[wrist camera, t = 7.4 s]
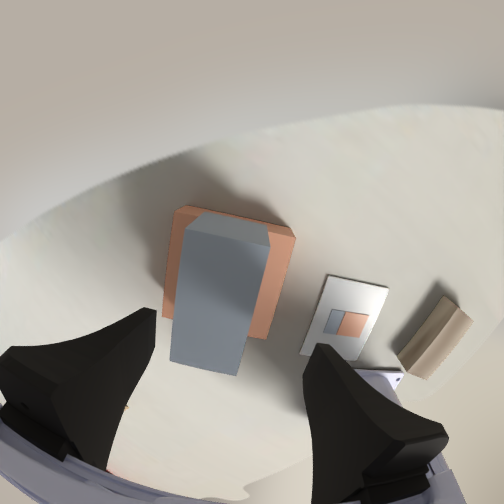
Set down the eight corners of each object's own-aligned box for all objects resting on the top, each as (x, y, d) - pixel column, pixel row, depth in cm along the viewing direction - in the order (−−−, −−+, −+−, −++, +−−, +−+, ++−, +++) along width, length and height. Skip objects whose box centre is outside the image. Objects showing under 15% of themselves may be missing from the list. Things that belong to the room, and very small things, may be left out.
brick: (458, 308, 23) (473, 321, 20) (415, 364, 25) (426, 380, 22) (442, 294, 22) (458, 307, 19) (395, 354, 24) (406, 372, 22)
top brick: (240, 330, 20) (236, 376, 15) (187, 318, 19) (169, 360, 15) (266, 225, 17) (270, 247, 12) (204, 211, 17) (184, 228, 12)
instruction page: (355, 359, 24) (356, 361, 24) (299, 353, 24) (299, 355, 23) (388, 287, 22) (389, 289, 21) (328, 275, 21) (328, 276, 21)
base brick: (265, 319, 23) (266, 339, 20) (172, 298, 22) (161, 316, 19) (290, 227, 20) (295, 237, 17) (185, 205, 20) (174, 211, 17)
